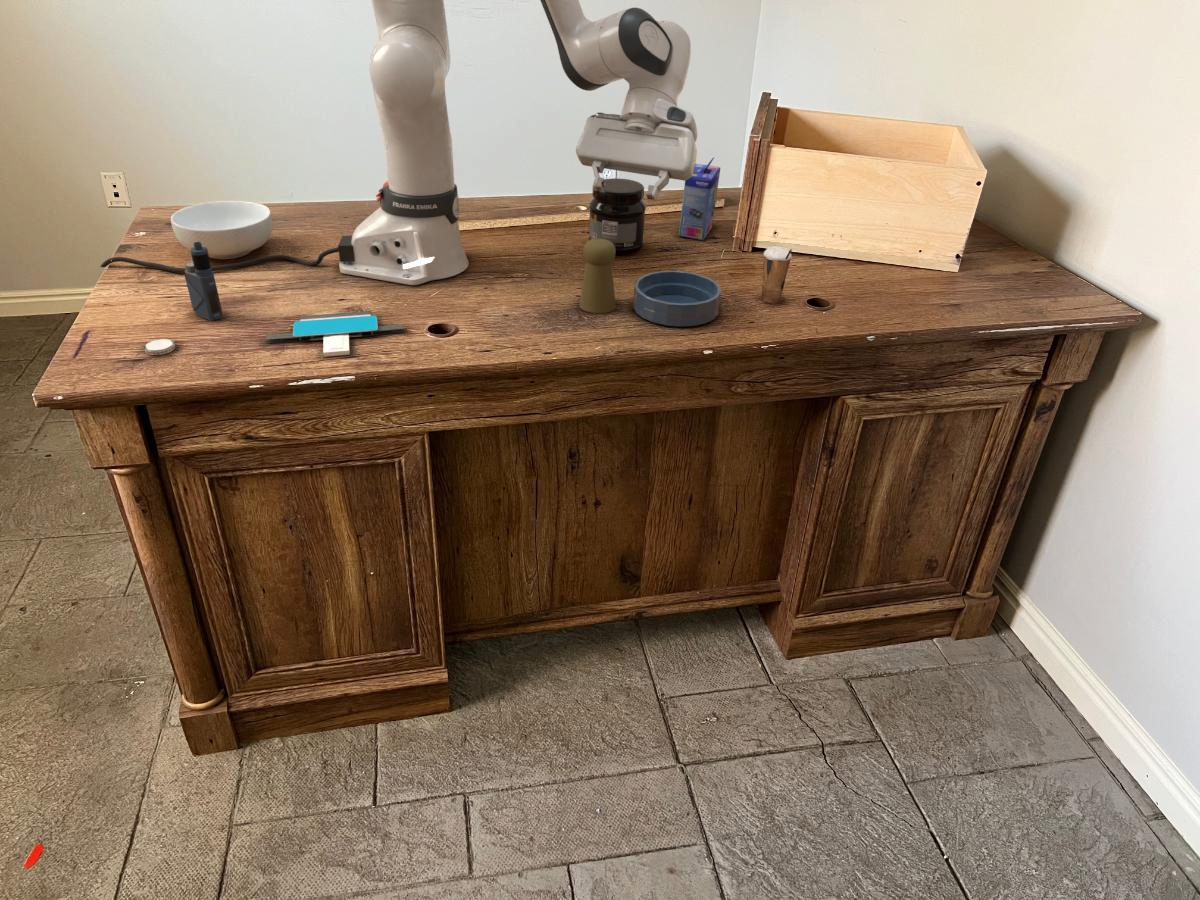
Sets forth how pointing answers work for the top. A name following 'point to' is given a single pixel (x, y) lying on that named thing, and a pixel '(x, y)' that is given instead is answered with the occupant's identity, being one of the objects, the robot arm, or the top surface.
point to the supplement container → (619, 215)
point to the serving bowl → (676, 298)
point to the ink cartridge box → (699, 202)
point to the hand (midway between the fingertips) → (624, 193)
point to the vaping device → (202, 284)
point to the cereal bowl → (223, 227)
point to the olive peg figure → (598, 277)
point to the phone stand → (335, 330)
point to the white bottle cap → (159, 346)
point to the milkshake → (774, 273)
